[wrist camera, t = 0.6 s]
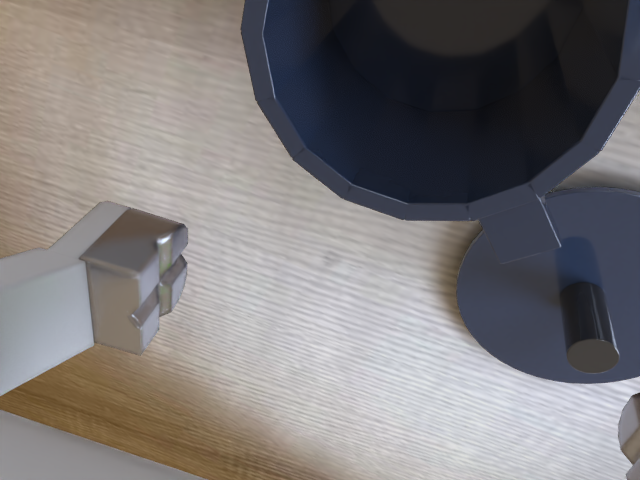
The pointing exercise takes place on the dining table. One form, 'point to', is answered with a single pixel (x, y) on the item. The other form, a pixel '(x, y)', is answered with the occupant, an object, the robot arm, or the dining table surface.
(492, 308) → the pot lid
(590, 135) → the pot
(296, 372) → the dining table surface
